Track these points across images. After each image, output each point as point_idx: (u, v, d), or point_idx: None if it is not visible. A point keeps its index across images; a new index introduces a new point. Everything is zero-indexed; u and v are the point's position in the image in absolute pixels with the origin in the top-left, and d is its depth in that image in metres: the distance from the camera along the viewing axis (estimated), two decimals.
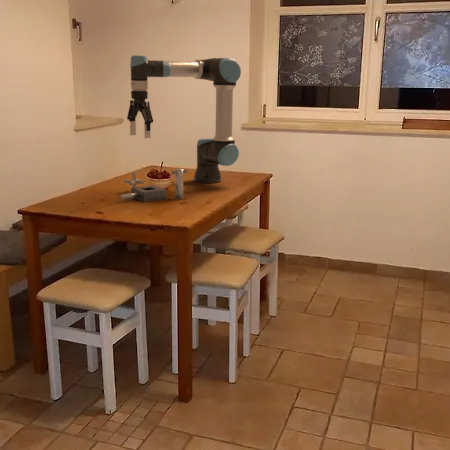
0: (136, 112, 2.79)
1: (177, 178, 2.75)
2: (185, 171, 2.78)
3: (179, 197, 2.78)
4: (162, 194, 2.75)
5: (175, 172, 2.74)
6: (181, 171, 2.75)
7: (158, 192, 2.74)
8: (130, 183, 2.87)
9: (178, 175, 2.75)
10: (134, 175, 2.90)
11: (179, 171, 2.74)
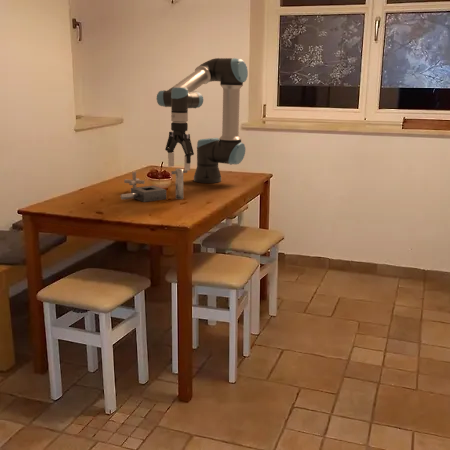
0: (175, 144, 2.76)
1: (177, 178, 2.75)
2: (185, 171, 2.78)
3: (179, 197, 2.78)
4: (162, 194, 2.75)
5: (175, 172, 2.74)
6: (181, 171, 2.75)
7: (158, 192, 2.74)
8: (130, 183, 2.87)
9: (178, 175, 2.75)
10: (134, 175, 2.90)
11: (179, 171, 2.74)
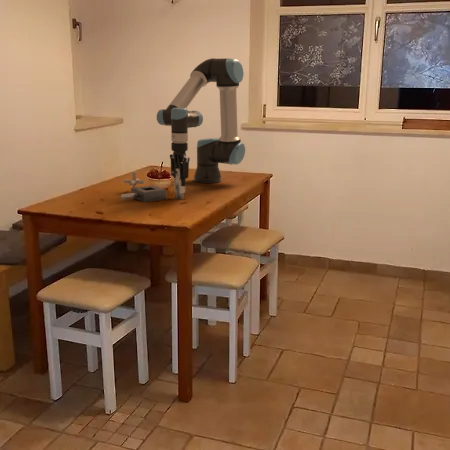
0: (178, 165, 2.77)
1: (177, 178, 2.76)
2: None
3: (179, 197, 2.78)
4: (162, 194, 2.75)
5: (175, 172, 2.74)
6: None
7: (158, 192, 2.74)
8: (130, 183, 2.87)
9: (178, 174, 2.75)
10: (134, 175, 2.90)
11: (179, 171, 2.74)
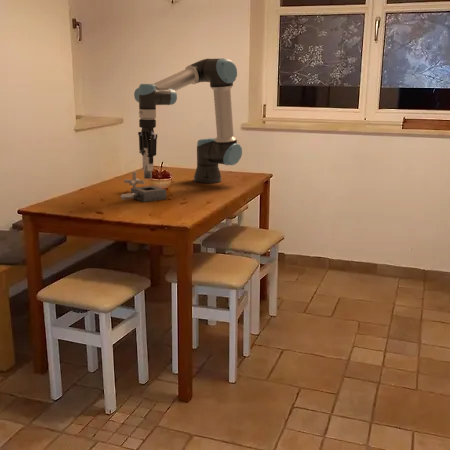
0: (146, 142, 2.73)
1: (145, 157, 2.72)
2: None
3: (147, 176, 2.74)
4: (162, 194, 2.75)
5: (143, 151, 2.71)
6: None
7: (158, 192, 2.74)
8: (130, 183, 2.87)
9: (146, 153, 2.71)
10: (134, 175, 2.90)
11: (147, 150, 2.71)
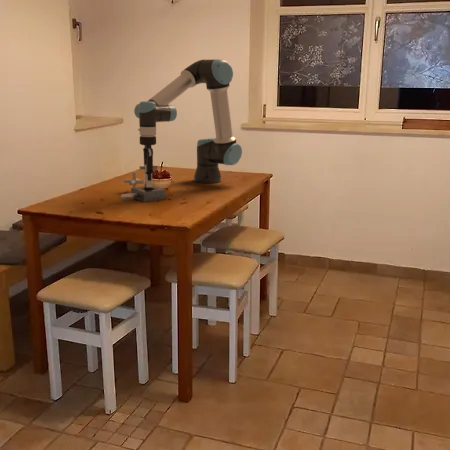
0: None
1: (145, 174, 2.74)
2: (154, 167, 2.75)
3: None
4: (162, 194, 2.75)
5: (142, 167, 2.73)
6: None
7: (158, 192, 2.74)
8: (130, 183, 2.87)
9: (145, 170, 2.74)
10: (134, 175, 2.90)
11: None
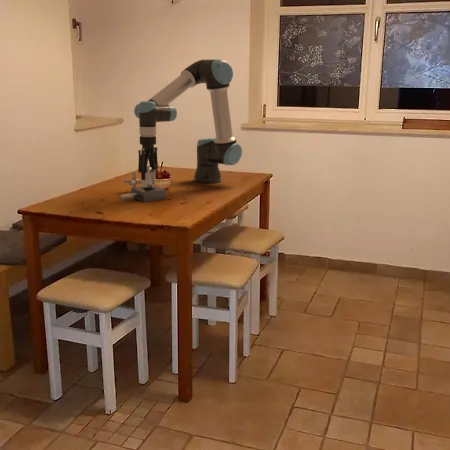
0: (151, 159, 2.76)
1: None
2: (152, 170, 2.73)
3: None
4: (162, 194, 2.75)
5: None
6: None
7: (158, 192, 2.74)
8: (130, 183, 2.87)
9: None
10: (134, 175, 2.90)
11: None
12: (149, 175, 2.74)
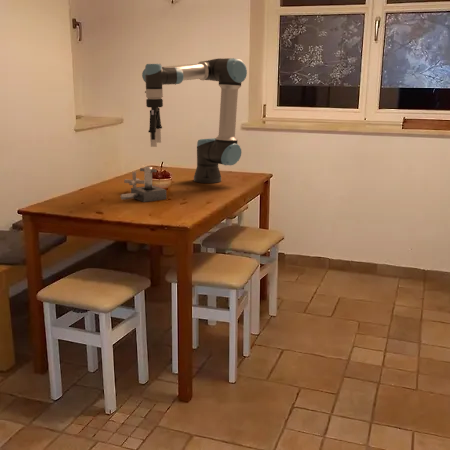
0: (157, 120, 2.79)
1: None
2: (153, 170, 2.74)
3: None
4: (162, 194, 2.75)
5: (142, 169, 2.76)
6: (146, 169, 2.73)
7: (158, 192, 2.74)
8: (130, 183, 2.87)
9: (144, 172, 2.75)
10: (134, 175, 2.90)
11: (144, 169, 2.74)
12: (149, 175, 2.74)
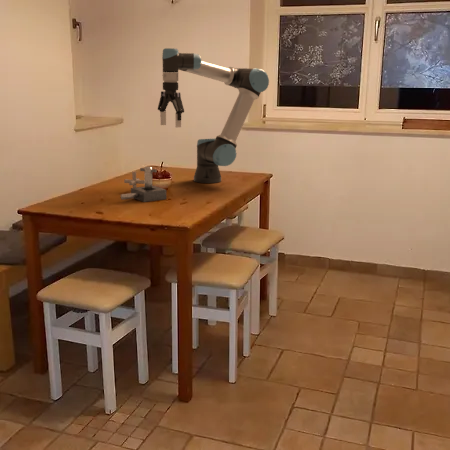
0: (167, 103, 2.92)
1: None
2: (153, 170, 2.73)
3: None
4: (162, 194, 2.75)
5: (142, 169, 2.75)
6: (146, 169, 2.73)
7: (158, 192, 2.74)
8: (130, 183, 2.87)
9: None
10: (134, 175, 2.90)
11: (145, 169, 2.74)
12: (150, 175, 2.74)
